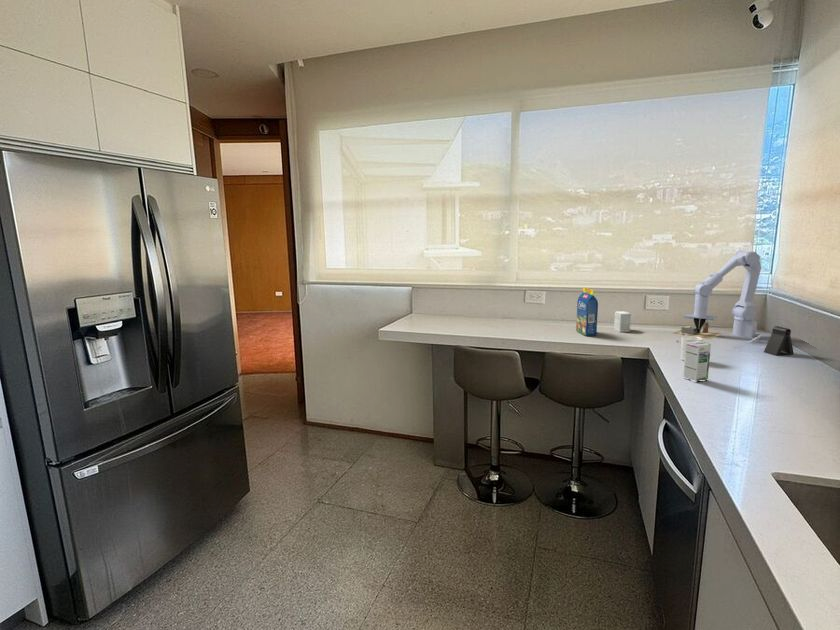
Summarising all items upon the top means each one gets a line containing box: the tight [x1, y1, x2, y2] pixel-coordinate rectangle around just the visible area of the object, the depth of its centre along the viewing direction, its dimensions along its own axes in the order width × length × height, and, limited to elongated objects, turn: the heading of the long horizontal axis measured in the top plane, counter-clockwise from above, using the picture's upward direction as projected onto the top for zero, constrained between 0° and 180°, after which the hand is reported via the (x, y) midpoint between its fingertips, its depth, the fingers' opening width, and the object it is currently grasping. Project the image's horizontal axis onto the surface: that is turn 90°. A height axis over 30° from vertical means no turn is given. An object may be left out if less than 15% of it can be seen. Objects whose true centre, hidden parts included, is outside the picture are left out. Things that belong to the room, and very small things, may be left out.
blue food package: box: [575, 287, 599, 337], centre depth 239 cm, size 6×12×25 cm, turn 4°
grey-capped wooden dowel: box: [702, 320, 710, 333], centre depth 233 cm, size 2×2×6 cm
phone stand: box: [763, 325, 795, 357], centre depth 196 cm, size 9×6×12 cm, turn 97°
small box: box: [613, 310, 632, 333], centre depth 245 cm, size 8×6×10 cm
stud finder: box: [680, 325, 697, 335], centre depth 232 cm, size 6×4×3 cm
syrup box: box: [683, 341, 712, 381], centre depth 165 cm, size 6×6×14 cm
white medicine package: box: [680, 335, 704, 360], centre depth 189 cm, size 8×8×10 cm
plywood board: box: [673, 329, 722, 340], centre depth 232 cm, size 18×16×1 cm
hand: (698, 332), depth 229 cm, fingers closed
